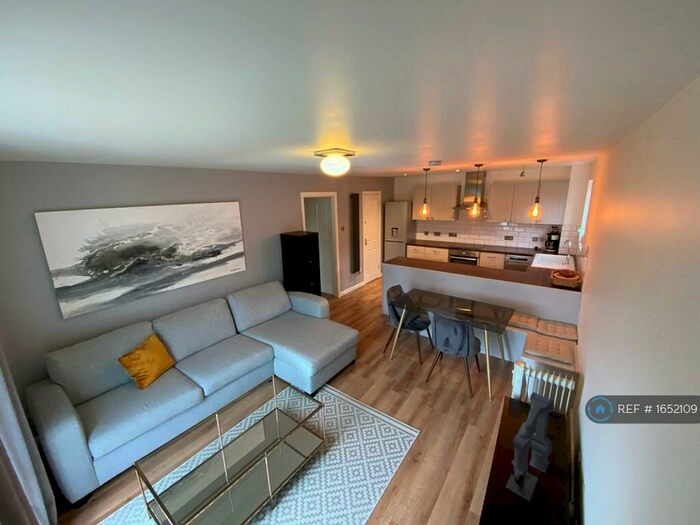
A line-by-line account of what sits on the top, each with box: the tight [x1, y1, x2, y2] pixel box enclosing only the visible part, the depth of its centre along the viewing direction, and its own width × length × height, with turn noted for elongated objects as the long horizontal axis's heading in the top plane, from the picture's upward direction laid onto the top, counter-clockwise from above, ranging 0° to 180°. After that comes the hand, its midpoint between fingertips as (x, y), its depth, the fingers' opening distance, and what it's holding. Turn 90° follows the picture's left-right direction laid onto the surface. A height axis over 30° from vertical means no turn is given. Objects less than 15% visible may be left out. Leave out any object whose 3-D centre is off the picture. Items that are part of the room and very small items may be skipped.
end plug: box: [516, 473, 526, 488], centre depth 149 cm, size 5×5×7 cm
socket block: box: [505, 468, 539, 502], centre depth 153 cm, size 15×11×2 cm
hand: (520, 480), depth 149 cm, fingers closed on end plug, 5 cm apart
